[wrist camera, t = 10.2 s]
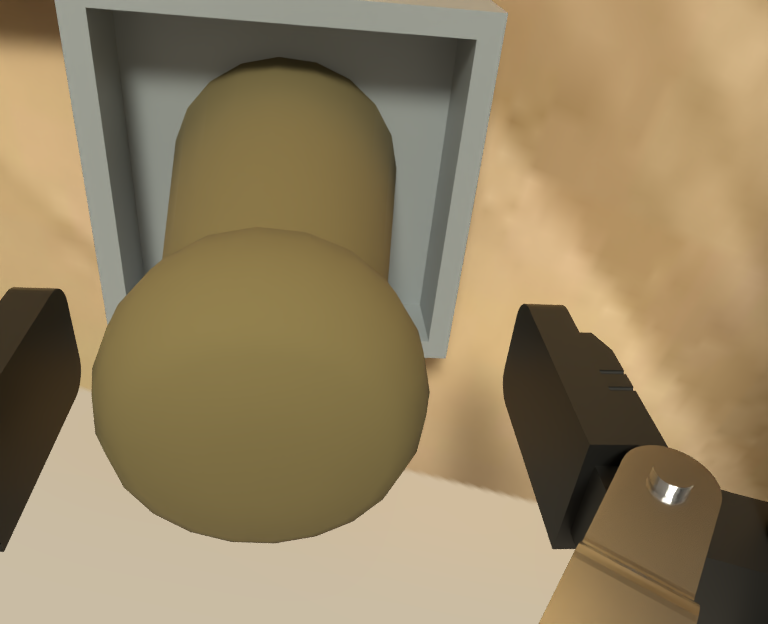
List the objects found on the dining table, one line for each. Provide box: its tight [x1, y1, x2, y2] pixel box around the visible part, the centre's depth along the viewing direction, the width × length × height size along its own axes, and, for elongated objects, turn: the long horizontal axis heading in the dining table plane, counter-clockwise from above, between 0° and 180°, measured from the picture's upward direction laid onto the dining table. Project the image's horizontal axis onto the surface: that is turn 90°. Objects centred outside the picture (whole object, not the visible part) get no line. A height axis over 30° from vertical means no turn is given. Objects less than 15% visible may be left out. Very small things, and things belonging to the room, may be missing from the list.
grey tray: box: [54, 0, 508, 358], centre depth 18 cm, size 10×10×2 cm
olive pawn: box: [92, 57, 430, 543], centre depth 14 cm, size 6×6×11 cm
